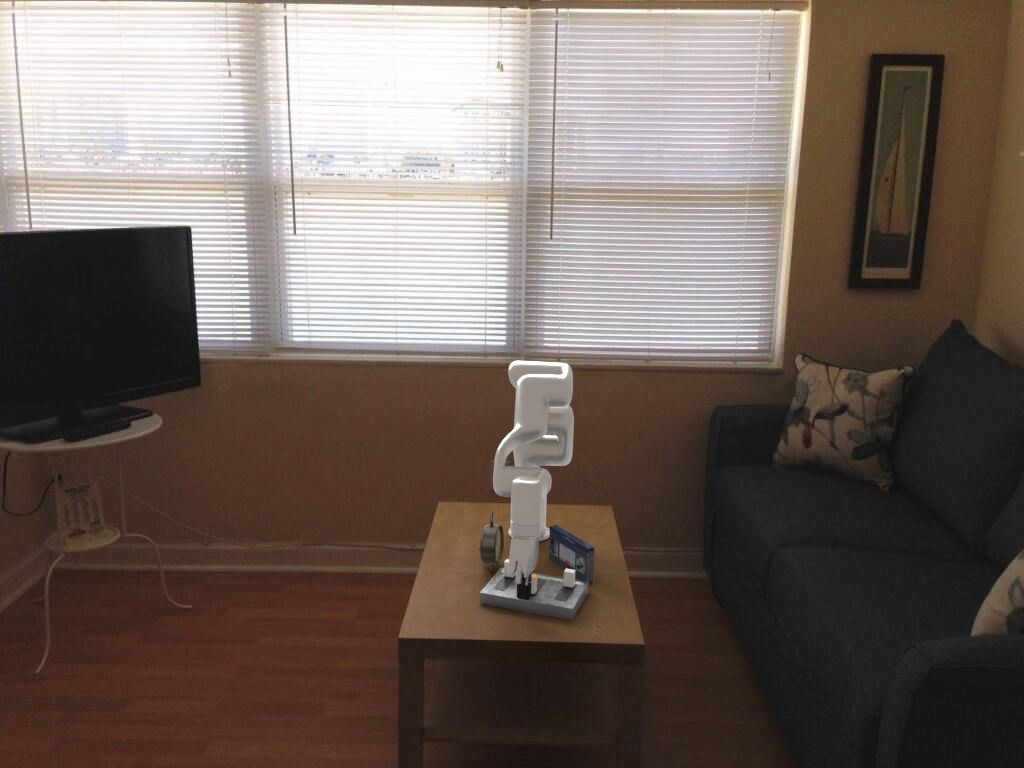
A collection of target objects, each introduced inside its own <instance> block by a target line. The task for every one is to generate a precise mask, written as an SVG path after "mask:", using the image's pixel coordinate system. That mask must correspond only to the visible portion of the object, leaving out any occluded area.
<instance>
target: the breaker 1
mask: <svg viewBox="0 0 1024 768" xmlns="http://www.w3.org/2000/svg"><path fill="white" fill-rule="evenodd" d="M503 568H504V576H506V577H512V578H513V577H514V576H515V574H516V571H515V572H514V574H513V575H511V576H510V575H509V574H508V569H509V558H506V559H505V560H504V563H503Z"/></svg>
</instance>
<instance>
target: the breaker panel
mask: <svg viewBox="0 0 1024 768" xmlns="http://www.w3.org/2000/svg"><path fill="white" fill-rule="evenodd" d="M532 574H535V575H537V591H536V593H535V594H531V598H530V599H529V600H523V599H518V598H517V583H515V580H516V574H515V576H514V577H513V578H512V577H506V576H504V567H499V569H498V571H497V572H495V574H494V575H493V577H492V578H491V579H489V581H488V582H487V584H486V585H485V586H484V587H483V588H482V589H481V590H480V592H479V604H480V605H485V604H487V605H486V606H490V605H493V606H492V607H496V606H497V608H501V607H502V609H507V608H508V609H507V610H512V611H519V612H524V613H525V612H526V613H530V614H536V615H541V616H548V617H553V618H559V619H564V620H570V621H573V619H574V618H575V616H576V614H577V613H578V611H579V609H580V607H581V606H582V604H583V602H584V600H585V599H586V597H587V596H588V594H589V583H590V582H585V581H581V580H580V579H579V580H578V579H575V585H574V587H573V588H572V587H566V586H563V582H564V577H560V576H559V577H558V576H554V575H547V574H543V573H537V572H536V573H535V572H532Z"/></svg>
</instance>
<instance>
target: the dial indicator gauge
mask: <svg viewBox="0 0 1024 768" xmlns="http://www.w3.org/2000/svg"><path fill="white" fill-rule="evenodd" d="M489 523H490V524H486V525H484V526H483V528H482V530H481V534H480V541H479V549H478V550H479V555H480V559H481V562H482V563H483V564H482V566H484V565H485V566H486V565H487V566H490V567H489V568H490V569H489V573H490V574H492V573H493V569H494V566H500V564H501V563H502V560H503V554H504V546H505V545H504V543H505V541H504V539H505V538H504V537H505V535H504V530H503V529H504V528H503V526H502V525H501V524H494V511H493V510H491V512H490V519H489Z"/></svg>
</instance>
